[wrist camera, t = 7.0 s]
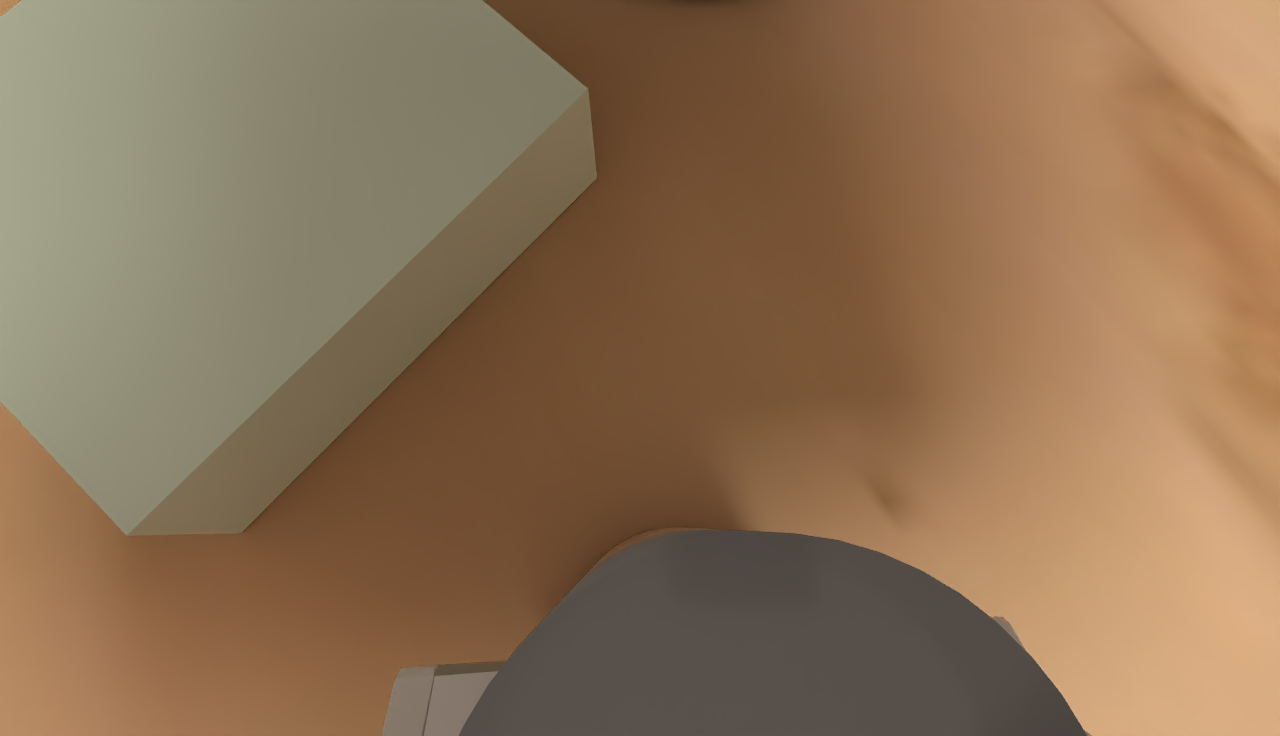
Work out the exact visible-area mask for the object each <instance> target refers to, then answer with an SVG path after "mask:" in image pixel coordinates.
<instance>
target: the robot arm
mask: <svg viewBox="0 0 1280 736" xmlns="http://www.w3.org/2000/svg"><path fill="white" fill-rule="evenodd" d="M991 618H992V619H993V620H995V621H996V622H997V623H998V624H999V625H1000V626H1001V627H1002V628H1003V629H1004V630H1005V631H1006V632H1007V633H1008V634H1009V635H1010V636H1011V637H1012V638H1013V639H1014V640H1015V641H1016V642H1017V643H1018V644H1019V645H1020V646H1021V647H1022V648H1023V649H1024V650H1025V648H1024V647H1023V645H1022V643H1021V642H1020V640H1019V638H1018V636H1017V635H1016V633H1015V631H1014V630H1013V628H1012V626H1011V624H1010V623H1009V622H1008V621H1006V620H1005V619H1004V618H1003V617H998V616H994V617H991ZM1025 651H1026V650H1025ZM506 661H507V660H504V661H490V662H476V663H462V664H448V665H430V666H419V667H407V668H401V669H400V671H399V673H398V675H397V677H396V678H395V680H394V683H393V688H392V692H391V696H390V700H389V705H388V709H387V713H386V717H385V721H384V726H383V730H382V734H381V736H459V734H460V732H461V730H462V727H463V725H464V724H465V722H466V720H467V719H468V717H469V715H470V714H471V712H472V711H473V709H474V707H475V706H476V704H477V702H478V701H479V699H480V697H481V696H482V694H483V692H484V691H485V689H486V687H487V686H488V684H489V683H490V682H491V680H492V679H493V678H494V677H495V675H496V674H497V673H498V671H499V670H500V669H501V668H502V666H503V665H504V664H505V663H506ZM1084 731H1085V730H1084ZM1085 733H1086V734H1087V736H1092V735H1090V734H1089V733H1088V732H1086V731H1085Z"/></svg>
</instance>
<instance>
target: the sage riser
mask: <svg viewBox="0 0 1280 736" xmlns="http://www.w3.org/2000/svg"><path fill="white" fill-rule="evenodd" d="M596 179H597V171H596V161H595V151H594V141H593V131H592V121H591V111H590V101H589V91H588V88H587V87H586V86H584V85H583V84H582V83H581V82H580V81H578V80H577V79H576V78H575V77H574V76H572V75H571V74H570V73H569V72H568V71H567V70H565V69H564V68H563V67H562V66H561V65H559V64H558V63H557V62H556V61H555V60H553V59H552V58H551V57H550V56H549V55H547V54H546V53H545V52H544V51H543V50H542V49H540V48H539V47H538V46H537V45H536V44H534V43H533V42H532V41H531V40H530V39H528V38H527V37H526V36H525V35H524V34H522V33H521V32H520V31H519V30H518V29H517V28H515V27H514V26H513V25H512V24H511V23H509V22H508V21H507V20H506V19H505V18H503V17H502V16H501V15H500V14H499V13H497V12H496V11H495V10H494V9H493V8H491V7H490V6H489V5H488V4H487V3H486V2H484V1H483V0H21V1H20V2H18V3H17V4H16V5H15V6H13V7H12V8H11V9H10V10H8V11H7V12H6V13H5V14H3V15H2V16H1V17H0V402H1V403H2V404H3V405H4V406H5V407H6V408H7V409H8V411H9V412H10V413H11V414H12V415H13V416H14V417H15V418H16V419H17V420H18V421H19V422H20V423H21V424H22V425H23V426H24V428H25V429H26V430H27V431H28V432H29V433H30V434H31V435H32V436H33V437H34V438H35V439H36V440H37V441H38V442H39V444H40V445H41V446H42V447H43V448H44V449H45V450H46V451H47V452H48V453H49V454H50V455H51V456H52V457H53V458H54V459H55V461H56V462H57V463H58V464H59V465H60V466H61V467H62V468H63V469H64V470H65V471H66V472H67V473H68V474H69V475H70V476H71V478H72V479H73V480H74V481H75V482H76V483H77V484H78V485H79V486H80V487H81V488H82V489H83V490H84V491H85V492H86V494H87V495H88V496H89V497H90V498H91V499H92V500H93V501H94V502H95V503H96V504H97V505H98V506H99V507H100V508H101V509H102V511H103V512H104V513H105V514H106V515H107V516H108V517H109V518H110V519H111V520H112V521H113V522H114V523H115V524H116V525H117V526H118V528H119V529H120V530H121V531H122V532H123V533H124V534H125V535H126V536H141V535H188V534H235V533H242V532H243V531H244V530H245V529H246V528H247V527H248V526H249V525H250V524H251V523H252V522H253V521H254V520H255V519H256V518H257V517H258V516H259V515H260V514H261V513H262V512H263V511H264V510H265V509H266V508H267V507H268V506H269V505H270V504H271V503H272V502H273V501H274V500H275V499H276V498H277V497H278V496H279V495H280V494H281V493H282V492H283V491H284V490H285V489H286V488H287V487H288V486H289V485H290V484H291V483H292V482H293V481H294V480H295V479H296V478H297V477H298V476H299V475H300V474H301V473H302V472H303V471H304V470H305V469H306V468H307V467H308V466H309V465H310V464H311V463H312V462H313V461H314V460H315V459H316V458H317V457H318V456H319V455H320V454H321V453H322V452H323V451H324V450H325V449H326V448H327V447H328V446H329V445H330V444H331V443H332V442H333V441H334V440H335V439H336V438H337V437H338V436H339V435H340V434H341V433H342V432H343V431H344V430H345V429H346V428H347V427H348V426H349V425H350V424H351V423H352V422H353V421H354V420H355V419H356V418H357V417H358V416H359V415H360V414H361V413H362V412H363V411H364V410H365V409H366V408H367V407H368V406H369V405H370V404H371V403H372V402H373V401H374V400H375V399H376V398H377V397H378V396H379V395H380V394H381V393H382V392H383V391H384V390H385V389H386V388H387V387H388V386H389V385H390V384H391V383H392V382H393V381H394V380H395V379H396V378H397V377H398V376H399V375H400V374H401V373H402V372H403V371H404V370H405V369H406V368H407V367H408V366H409V365H410V364H411V363H412V362H413V361H414V360H415V359H416V358H417V357H418V356H419V355H420V354H421V353H422V352H423V351H424V350H425V349H426V348H427V347H428V346H429V345H430V344H431V343H432V342H433V341H434V340H435V339H436V338H437V337H438V336H439V335H440V334H441V333H442V332H443V331H444V330H445V329H446V328H447V327H448V326H449V325H450V324H451V323H452V322H453V321H454V320H455V319H456V318H457V317H458V316H459V315H460V314H461V313H462V312H463V311H464V310H465V309H466V308H467V307H468V306H469V305H470V304H471V303H472V302H473V301H474V300H475V299H476V298H477V297H478V296H479V295H480V294H481V293H482V292H483V291H484V290H485V289H486V288H487V287H488V286H489V285H490V284H491V283H492V282H493V281H494V280H495V279H496V278H497V277H498V276H499V275H500V274H501V273H502V272H503V271H504V270H505V269H506V268H507V267H508V266H509V265H510V264H511V263H512V262H513V261H514V260H515V259H516V258H517V257H518V256H519V255H520V254H521V253H523V252H524V251H525V250H526V249H527V248H528V247H529V246H530V245H531V244H532V243H533V242H534V241H535V240H536V239H537V238H538V237H539V236H540V235H541V234H542V233H543V232H544V231H545V230H546V229H547V228H548V227H549V226H550V225H551V224H552V223H553V222H554V221H555V220H556V219H557V218H558V217H559V216H560V215H561V214H562V213H563V212H564V211H565V210H566V209H567V208H568V207H569V206H570V205H571V204H572V203H573V202H574V201H575V200H576V199H577V198H578V197H579V196H580V195H581V194H582V193H583V192H584V191H585V190H586V189H587V188H588V187H589V186H590V185H591V184H592V183H593V182H594V181H595V180H596Z"/></svg>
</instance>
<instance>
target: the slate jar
mask: <svg viewBox="0 0 1280 736" xmlns="http://www.w3.org/2000/svg"><path fill="white" fill-rule="evenodd" d="M459 736H1087V734H1086V733H1085V731H1084V730H1083V728H1082V726H1081V725H1080V723H1079V722H1078V720H1077V718H1076V717H1075V715H1074V713H1073V712H1072V710H1071V709H1070V707H1069V705H1068V704H1067V702H1066V701H1065V699H1064V697H1063V696H1062V694H1061V693H1060V692H1059V691H1058V689H1057V688H1056V687H1055V685H1054V684H1053V683H1052V682H1051V680H1050V679H1049V678H1048V677H1047V675H1046V674H1045V673H1044V672H1043V670H1042V669H1041V668H1040V667H1039V665H1038V664H1037V663H1036V662H1035V660H1034V659H1033V658H1032V657H1031V656H1030V655H1029V654H1028V653H1027V652H1026V651H1025V650H1024V649H1023V648H1022V647H1021V646H1020V645H1019V644H1018V643H1017V642H1016V641H1015V640H1014V639H1013V638H1012V637H1011V636H1010V635H1009V634H1008V633H1007V632H1006V631H1005V630H1004V629H1003V628H1002V627H1001V626H1000V625H999V624H998V623H997V622H996V621H995V620H993V619H992V618H991V617H989V616H988V615H987V614H986V613H984V612H983V611H982V610H980V609H979V608H978V607H977V606H975V605H974V604H973V603H971V602H970V601H969V600H968V599H966V598H965V597H964V596H963V595H961V594H960V593H958V592H956V591H955V590H953V589H951V588H950V587H948V586H946V585H945V584H943V583H941V582H940V581H938V580H936V579H935V578H933V577H931V576H930V575H928V574H926V573H925V572H923V571H921V570H919V569H917V568H914V567H912V566H910V565H908V564H905V563H903V562H901V561H898V560H896V559H894V558H892V557H889V556H887V555H885V554H882V553H880V552H877V551H873V550H870V549H866V548H863V547H860V546H856V545H853V544H849V543H846V542H843V541H839V540H834V539H827V538H821V537H814V536H808V535H801V534H794V533H776V532H758V531H740V530H721V529H703V528H684V527H668V528H660V529H654V530H650V531H646V532H643V533H640V534H638V535H635V536H633V537H630V538H628V539H627V540H625V541H623V542H621V543H619V544H618V545H616V546H615V547H614V548H612V549H611V550H610V551H608V552H607V553H606V554H605V555H604V556H603V557H602V558H601V559H600V560H599V561H598V562H597V563H596V564H595V565H594V566H593V567H592V568H591V569H590V570H589V571H588V572H587V573H586V574H585V575H584V576H583V578H582V579H581V580H580V581H579V582H578V583H577V584H576V585H575V586H574V587H573V588H572V589H571V590H570V591H569V593H568V594H567V595H566V596H565V597H564V598H563V599H562V600H561V601H560V602H559V603H558V604H557V605H556V607H555V608H554V609H553V610H552V611H551V612H550V613H549V614H548V615H547V616H546V617H545V618H544V619H543V620H542V622H541V623H540V624H539V625H538V626H537V627H536V628H535V629H534V630H533V631H532V632H531V633H530V634H529V635H528V637H527V638H526V639H525V640H524V641H523V642H522V643H521V644H520V645H519V646H518V647H517V649H516V650H515V651H514V652H513V654H512V655H511V656H510V657H509V659H508V660H507V661H506V663H505V664H504V665H503V666H502V668H501V669H500V670H499V671H498V673H497V674H496V675H495V677H494V678H493V679H492V680H491V682H490V683H489V684H488V686H487V687H486V689H485V691H484V692H483V694H482V696H481V697H480V699H479V701H478V702H477V704H476V706H475V707H474V709H473V711H472V712H471V714H470V715H469V717H468V719H467V720H466V722H465V724H464V725H463V727H462V730H461V732H460V734H459Z"/></svg>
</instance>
